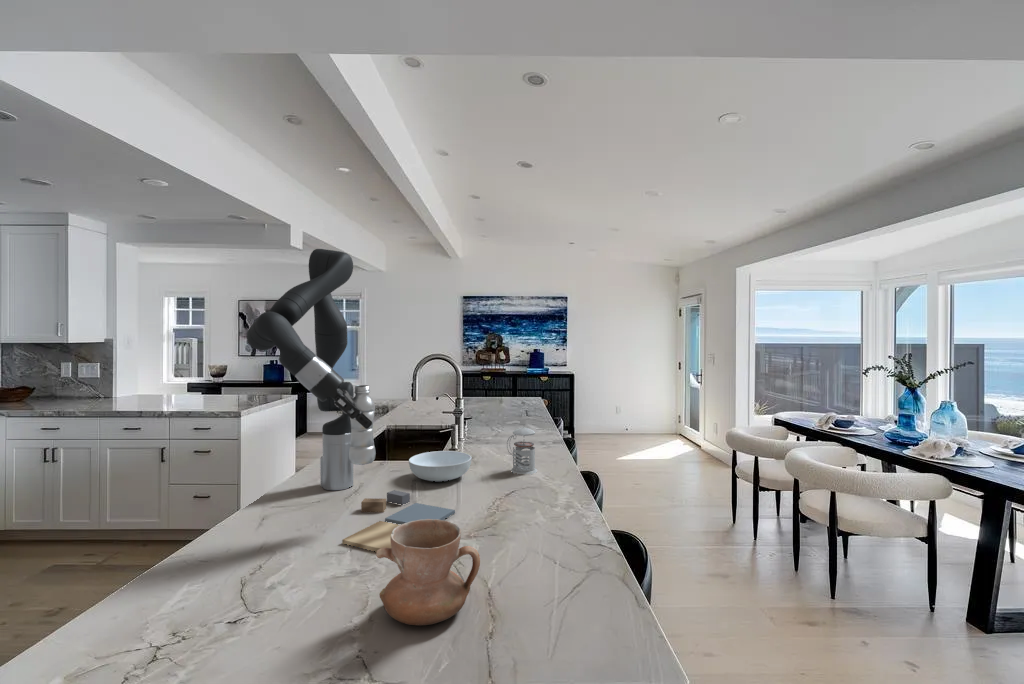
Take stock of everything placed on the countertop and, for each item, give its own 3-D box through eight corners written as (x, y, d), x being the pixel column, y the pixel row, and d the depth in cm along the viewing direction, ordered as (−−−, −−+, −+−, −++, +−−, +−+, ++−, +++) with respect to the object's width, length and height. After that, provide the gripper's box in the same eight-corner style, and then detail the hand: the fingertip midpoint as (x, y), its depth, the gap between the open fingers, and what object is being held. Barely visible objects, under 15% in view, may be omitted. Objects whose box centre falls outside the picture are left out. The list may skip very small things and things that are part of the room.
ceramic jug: (367, 638, 81) (369, 550, 80) (382, 591, 95) (383, 516, 95) (480, 634, 82) (482, 548, 82) (478, 588, 97) (479, 515, 96)
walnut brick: (361, 512, 138) (361, 502, 137) (364, 509, 140) (364, 498, 140) (383, 513, 137) (383, 502, 137) (386, 509, 140) (386, 498, 140)
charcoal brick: (386, 503, 146) (386, 492, 145) (394, 500, 148) (394, 489, 148) (402, 506, 142) (402, 496, 142) (409, 503, 145) (409, 493, 145)
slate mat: (385, 522, 130) (385, 518, 130) (415, 506, 142) (415, 502, 142) (426, 530, 125) (426, 526, 125) (454, 513, 136) (454, 509, 136)
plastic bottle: (380, 462, 130) (380, 385, 130) (364, 469, 124) (364, 387, 123) (360, 459, 133) (359, 383, 132) (343, 466, 126) (342, 386, 126)
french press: (528, 476, 172) (528, 403, 171) (500, 471, 178) (500, 400, 177) (542, 469, 180) (542, 399, 179) (515, 465, 186) (515, 397, 186)
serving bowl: (420, 468, 182) (420, 449, 182) (477, 470, 179) (477, 451, 179) (399, 486, 161) (399, 464, 161) (463, 488, 158) (463, 467, 158)
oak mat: (342, 543, 117) (342, 539, 117) (379, 524, 128) (379, 520, 128) (386, 554, 111) (386, 550, 111) (421, 533, 123) (421, 529, 123)
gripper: (330, 369, 118) (382, 417, 122) (331, 365, 132) (378, 408, 136) (305, 393, 117) (359, 440, 121) (310, 386, 131) (357, 429, 135)
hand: (369, 423), depth 129 cm, fingers closed on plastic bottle, 6 cm apart
